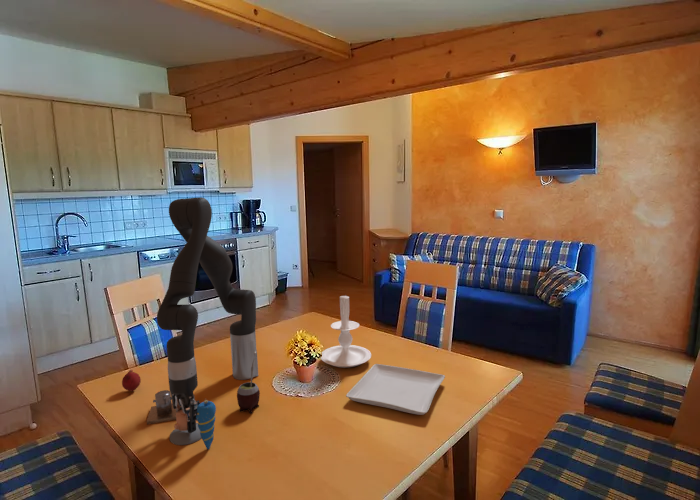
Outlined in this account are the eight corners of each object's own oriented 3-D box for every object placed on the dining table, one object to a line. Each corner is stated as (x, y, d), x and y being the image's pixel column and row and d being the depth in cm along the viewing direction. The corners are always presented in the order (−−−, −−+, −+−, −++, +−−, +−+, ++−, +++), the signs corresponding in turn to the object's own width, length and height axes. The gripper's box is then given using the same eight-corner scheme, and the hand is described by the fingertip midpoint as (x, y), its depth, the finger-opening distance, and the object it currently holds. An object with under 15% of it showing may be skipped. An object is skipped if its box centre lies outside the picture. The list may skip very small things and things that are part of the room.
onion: (133, 396, 144) (131, 374, 143) (119, 394, 145) (116, 373, 144) (145, 387, 150) (142, 367, 148) (131, 386, 151) (128, 365, 149)
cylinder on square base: (181, 404, 138) (179, 384, 137) (178, 419, 129) (176, 398, 128) (151, 409, 135) (149, 389, 134) (146, 424, 127) (144, 403, 125)
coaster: (206, 422, 127) (206, 420, 127) (205, 441, 118) (205, 439, 118) (171, 428, 124) (171, 426, 124) (167, 448, 115) (167, 446, 115)
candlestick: (370, 348, 182) (370, 285, 177) (371, 373, 157) (371, 302, 153) (323, 348, 182) (322, 286, 178) (317, 373, 158) (315, 302, 153)
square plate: (445, 383, 149) (445, 373, 149) (426, 424, 125) (426, 412, 124) (375, 370, 160) (375, 361, 160) (344, 405, 136) (344, 394, 135)
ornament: (202, 443, 117) (197, 394, 114) (220, 442, 117) (216, 392, 115) (196, 455, 112) (192, 403, 109) (216, 454, 112) (212, 402, 110)
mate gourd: (240, 417, 130) (237, 372, 127) (235, 405, 137) (232, 362, 134) (264, 410, 133) (261, 366, 131) (257, 399, 140) (255, 357, 138)
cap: (201, 424, 121) (201, 409, 121) (179, 433, 116) (179, 418, 116) (192, 417, 125) (191, 403, 124) (171, 427, 120) (170, 412, 119)
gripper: (207, 375, 116) (211, 431, 119) (183, 361, 126) (188, 413, 128) (181, 385, 111) (186, 443, 113) (158, 369, 120) (163, 423, 123)
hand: (187, 427), depth 121 cm, fingers closed on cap, 5 cm apart
